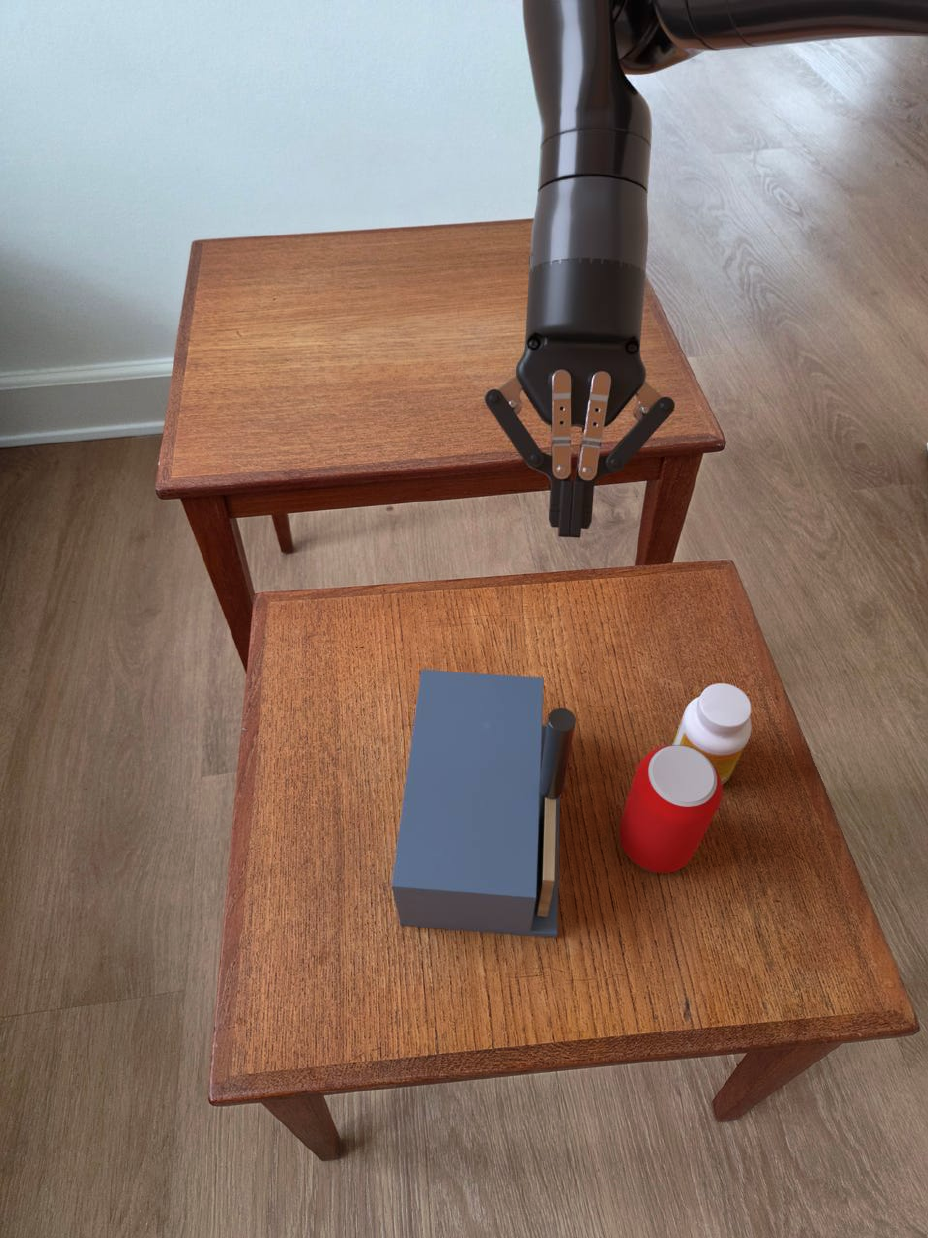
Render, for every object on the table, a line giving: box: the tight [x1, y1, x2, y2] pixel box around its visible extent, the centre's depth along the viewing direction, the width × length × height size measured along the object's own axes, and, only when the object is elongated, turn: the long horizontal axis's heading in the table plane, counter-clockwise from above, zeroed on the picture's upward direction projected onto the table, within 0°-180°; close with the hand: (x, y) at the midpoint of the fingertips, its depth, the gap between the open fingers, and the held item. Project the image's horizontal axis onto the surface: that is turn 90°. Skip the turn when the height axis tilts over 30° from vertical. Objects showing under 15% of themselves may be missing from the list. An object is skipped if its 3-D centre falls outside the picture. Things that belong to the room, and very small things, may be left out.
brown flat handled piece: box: [537, 707, 577, 917], centre depth 60 cm, size 2×8×18 cm, turn 175°
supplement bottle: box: [671, 682, 753, 785], centre depth 70 cm, size 5×5×10 cm
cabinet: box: [390, 669, 561, 939], centre depth 67 cm, size 12×18×9 cm, turn 175°
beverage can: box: [618, 744, 723, 874], centre depth 65 cm, size 6×6×12 cm
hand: (569, 536), depth 58 cm, fingers closed
